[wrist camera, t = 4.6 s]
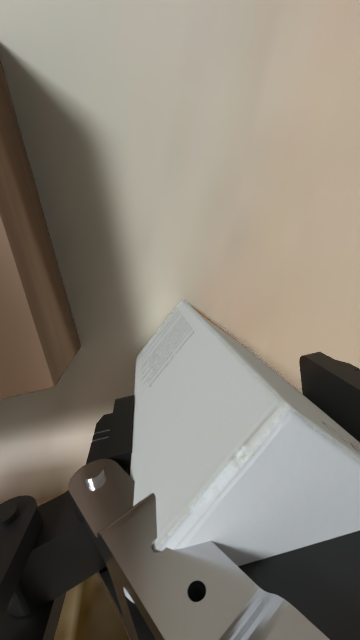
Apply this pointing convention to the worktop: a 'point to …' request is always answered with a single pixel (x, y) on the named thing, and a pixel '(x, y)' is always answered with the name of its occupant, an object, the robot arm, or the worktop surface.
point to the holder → (28, 275)
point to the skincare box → (235, 448)
